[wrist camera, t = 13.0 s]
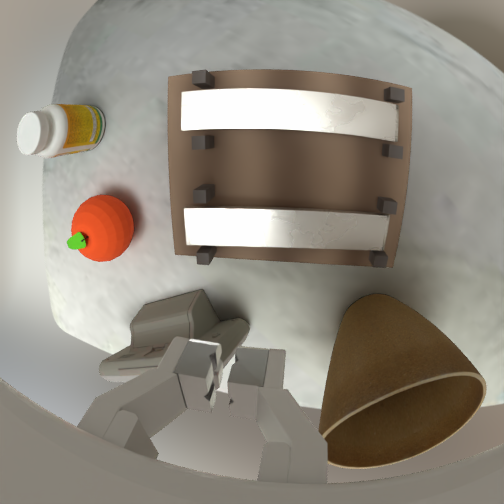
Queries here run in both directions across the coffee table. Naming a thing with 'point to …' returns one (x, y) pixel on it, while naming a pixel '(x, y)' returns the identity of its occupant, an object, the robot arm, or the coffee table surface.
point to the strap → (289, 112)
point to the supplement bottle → (60, 130)
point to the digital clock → (172, 334)
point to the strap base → (288, 165)
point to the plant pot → (393, 386)
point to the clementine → (101, 228)
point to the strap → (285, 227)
